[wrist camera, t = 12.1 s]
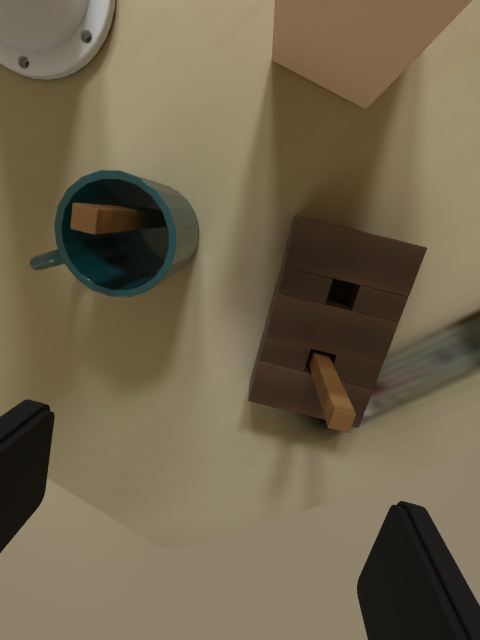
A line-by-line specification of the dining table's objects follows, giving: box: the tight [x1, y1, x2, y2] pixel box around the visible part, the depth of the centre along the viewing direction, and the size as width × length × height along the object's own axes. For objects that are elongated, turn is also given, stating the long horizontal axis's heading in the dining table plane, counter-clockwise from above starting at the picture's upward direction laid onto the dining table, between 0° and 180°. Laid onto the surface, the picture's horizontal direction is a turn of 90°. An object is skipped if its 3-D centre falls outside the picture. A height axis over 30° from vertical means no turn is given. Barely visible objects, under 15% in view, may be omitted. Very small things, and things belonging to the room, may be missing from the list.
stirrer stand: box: [248, 216, 427, 428], centre depth 32 cm, size 16×10×4 cm, turn 167°
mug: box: [30, 170, 199, 297], centre depth 28 cm, size 12×8×9 cm
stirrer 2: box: [308, 349, 356, 433], centre depth 28 cm, size 1×1×13 cm
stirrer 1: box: [70, 203, 163, 235], centre depth 25 cm, size 1×1×13 cm
